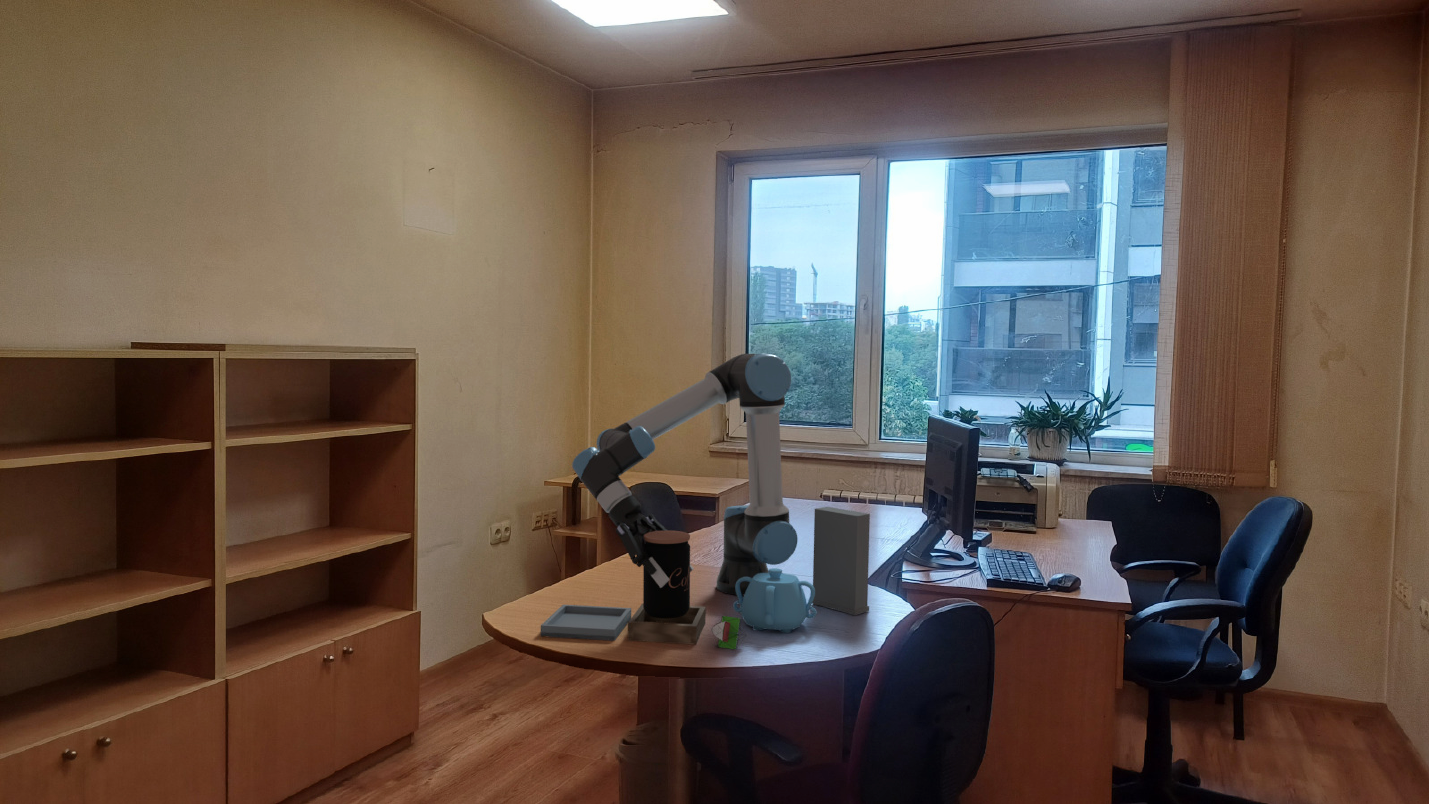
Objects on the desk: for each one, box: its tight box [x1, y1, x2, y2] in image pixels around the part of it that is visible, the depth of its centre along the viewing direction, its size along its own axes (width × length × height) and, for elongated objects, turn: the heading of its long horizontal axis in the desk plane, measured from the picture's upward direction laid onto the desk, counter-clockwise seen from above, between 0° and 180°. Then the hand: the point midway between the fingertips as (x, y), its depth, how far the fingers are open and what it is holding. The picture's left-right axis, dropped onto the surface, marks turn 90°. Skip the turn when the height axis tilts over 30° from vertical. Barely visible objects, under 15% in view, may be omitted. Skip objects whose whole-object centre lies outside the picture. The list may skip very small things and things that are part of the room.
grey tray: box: [540, 604, 632, 642], centre depth 201 cm, size 17×17×2 cm
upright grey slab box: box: [811, 506, 871, 616], centre depth 220 cm, size 14×6×25 cm, turn 44°
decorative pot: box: [732, 567, 818, 634], centre depth 205 cm, size 16×16×14 cm
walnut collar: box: [627, 603, 707, 645], centre depth 199 cm, size 15×15×4 cm
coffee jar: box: [642, 529, 691, 618], centre depth 198 cm, size 11×11×18 cm
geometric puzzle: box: [710, 615, 748, 651], centre depth 189 cm, size 7×7×8 cm
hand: (677, 578), depth 197 cm, fingers closed on coffee jar, 11 cm apart
